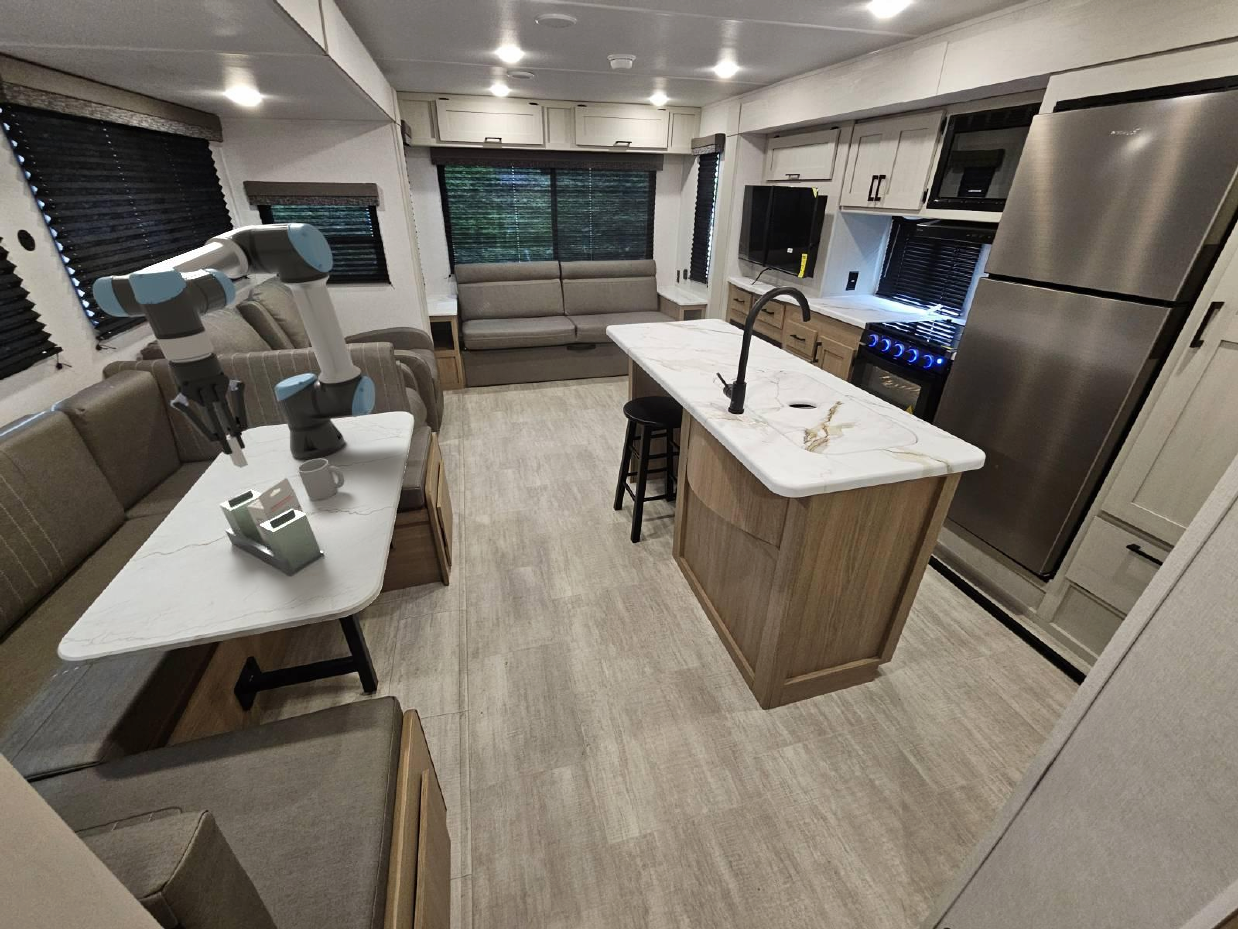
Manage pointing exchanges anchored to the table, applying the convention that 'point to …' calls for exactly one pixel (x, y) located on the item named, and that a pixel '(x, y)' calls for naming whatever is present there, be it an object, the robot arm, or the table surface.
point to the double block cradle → (272, 535)
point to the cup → (320, 478)
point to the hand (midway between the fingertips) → (241, 464)
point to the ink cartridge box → (273, 505)
